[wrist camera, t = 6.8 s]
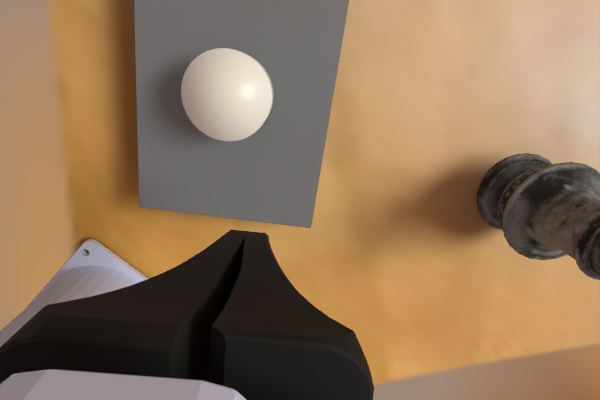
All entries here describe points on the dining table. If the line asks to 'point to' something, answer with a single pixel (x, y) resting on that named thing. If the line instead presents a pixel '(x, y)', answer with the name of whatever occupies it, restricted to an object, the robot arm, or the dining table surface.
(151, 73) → the control board
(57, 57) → the dining table surface
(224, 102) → the knob
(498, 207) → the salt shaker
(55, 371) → the robot arm
